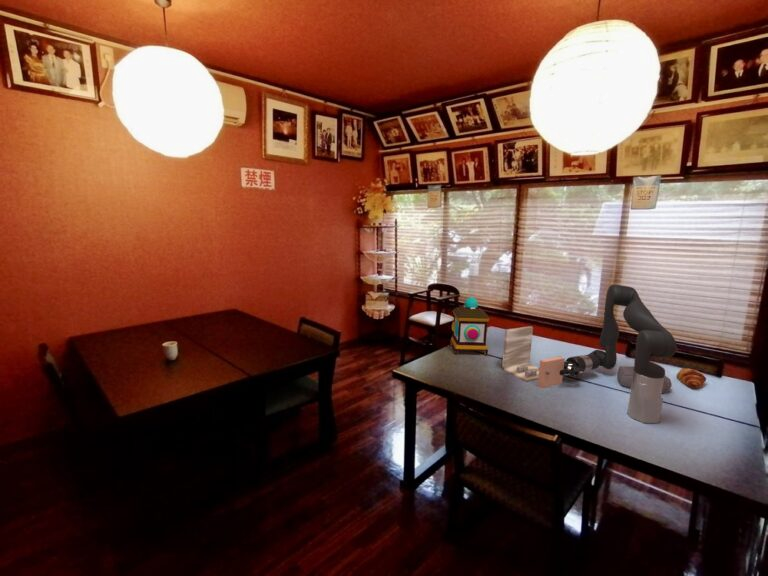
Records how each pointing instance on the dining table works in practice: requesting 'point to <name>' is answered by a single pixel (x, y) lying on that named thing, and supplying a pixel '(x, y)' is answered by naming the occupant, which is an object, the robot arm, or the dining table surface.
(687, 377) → the croissant
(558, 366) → the door
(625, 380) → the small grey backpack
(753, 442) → the dining table surface
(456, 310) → the decorative lantern
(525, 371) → the wooden bookend stand
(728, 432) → the dining table surface
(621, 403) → the dining table surface
